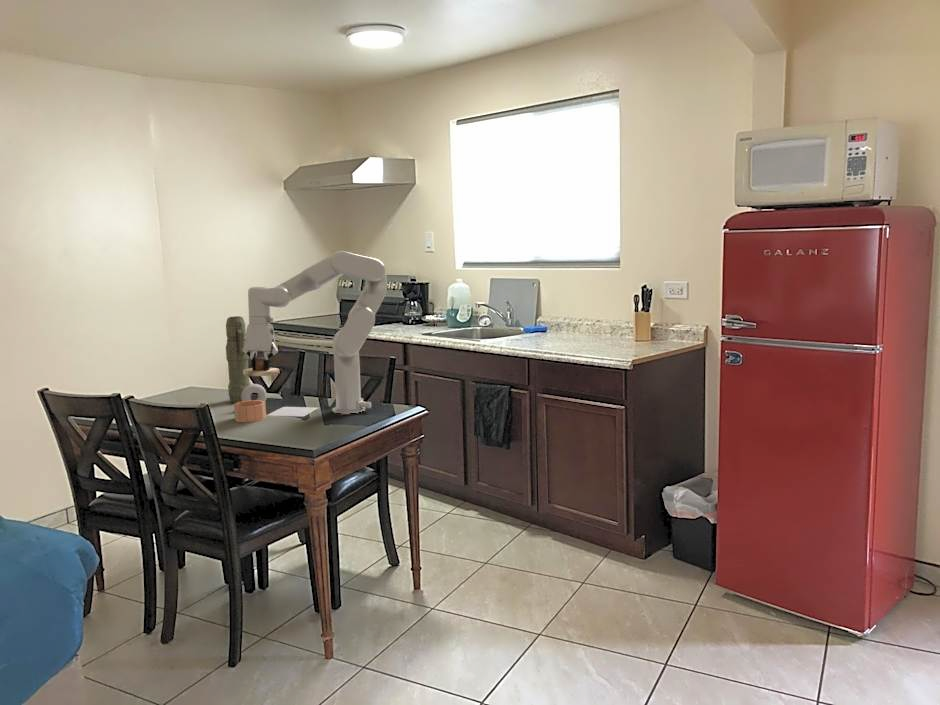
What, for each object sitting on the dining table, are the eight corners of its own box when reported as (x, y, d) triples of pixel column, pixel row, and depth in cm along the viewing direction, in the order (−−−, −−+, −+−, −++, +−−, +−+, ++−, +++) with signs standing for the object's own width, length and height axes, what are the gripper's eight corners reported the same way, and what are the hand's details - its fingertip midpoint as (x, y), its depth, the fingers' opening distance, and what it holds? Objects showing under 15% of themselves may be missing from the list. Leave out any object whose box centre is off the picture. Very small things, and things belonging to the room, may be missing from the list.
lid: (285, 371, 280) (284, 356, 279) (269, 376, 267) (268, 361, 266) (253, 369, 282) (253, 355, 282) (236, 375, 270) (235, 359, 269)
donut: (243, 411, 287) (242, 386, 286) (240, 409, 290) (239, 384, 289) (268, 407, 293) (267, 382, 291) (265, 406, 296) (264, 381, 294)
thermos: (236, 404, 299) (231, 318, 294) (224, 400, 308) (218, 316, 303) (257, 401, 305) (251, 316, 300) (244, 397, 314) (239, 315, 309)
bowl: (271, 416, 278) (270, 400, 277) (257, 423, 267) (256, 407, 266) (244, 415, 280) (243, 399, 279) (229, 422, 269) (228, 406, 268)
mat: (319, 408, 290) (319, 407, 290) (303, 417, 275) (303, 416, 275) (283, 407, 293) (283, 406, 293) (266, 416, 278) (266, 415, 278)
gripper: (285, 320, 274) (286, 369, 276) (243, 319, 277) (245, 367, 280) (275, 322, 267) (277, 372, 269) (233, 321, 270) (235, 370, 273)
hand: (260, 369), depth 274 cm, fingers closed on lid, 4 cm apart
